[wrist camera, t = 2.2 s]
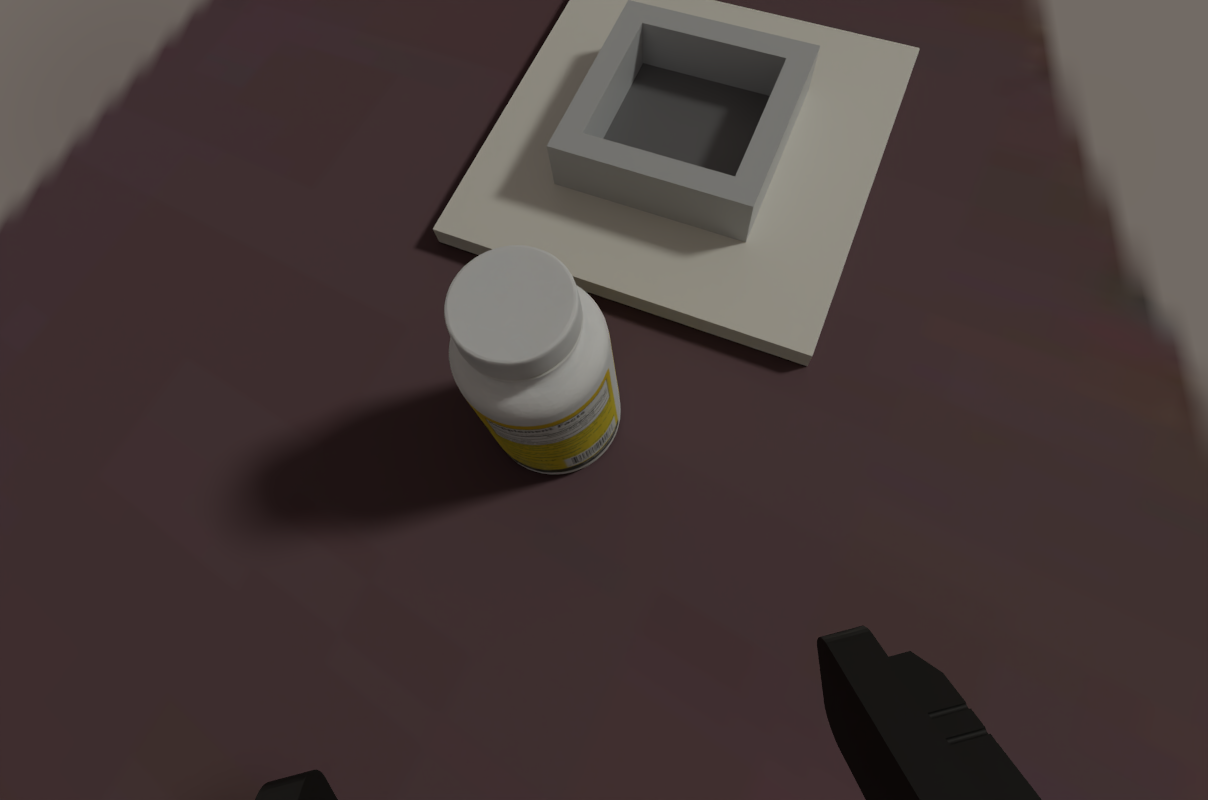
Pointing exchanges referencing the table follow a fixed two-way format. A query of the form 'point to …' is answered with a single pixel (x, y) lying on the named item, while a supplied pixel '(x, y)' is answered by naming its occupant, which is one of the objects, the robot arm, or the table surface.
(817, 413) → the table surface
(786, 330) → the socket dock
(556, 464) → the supplement bottle
